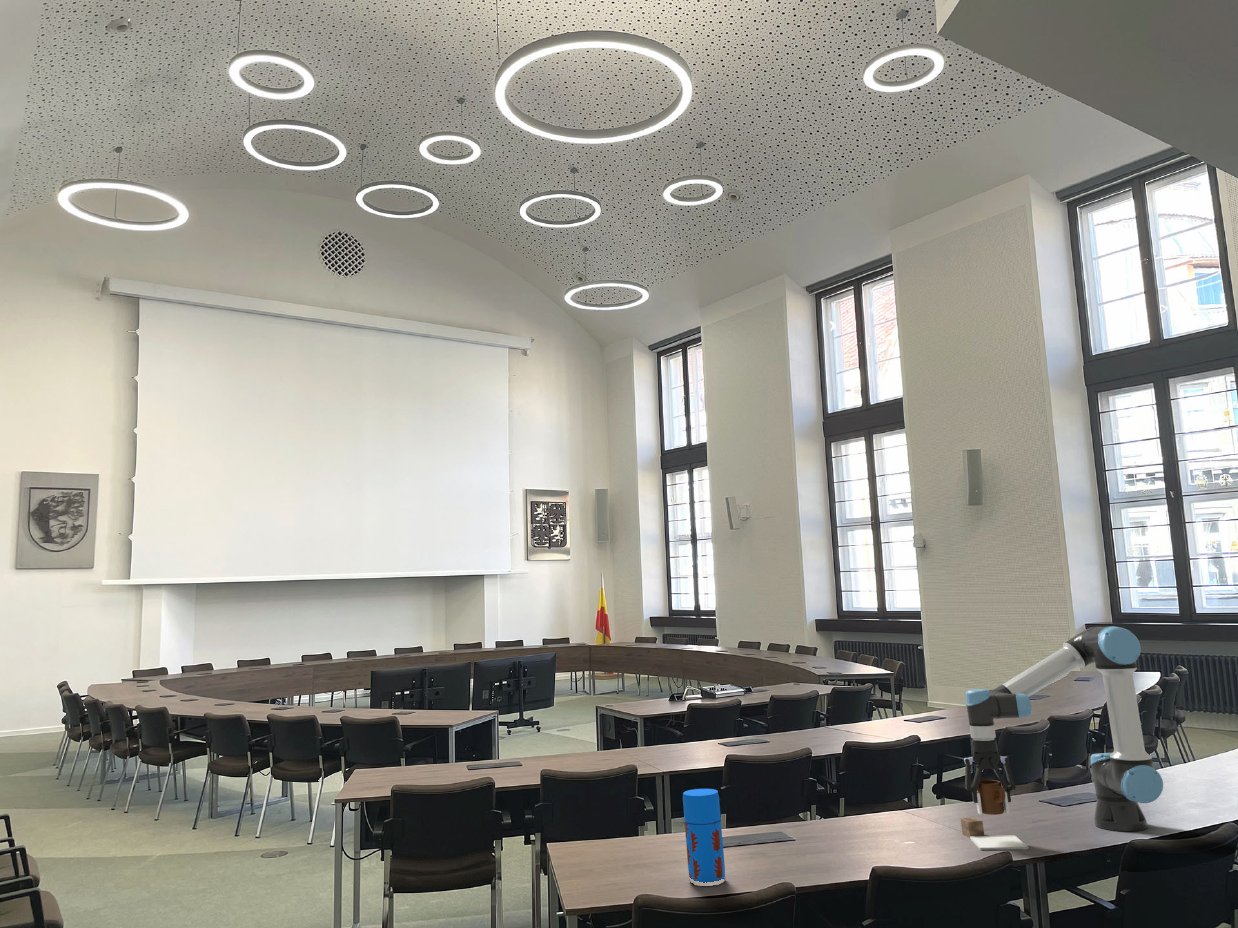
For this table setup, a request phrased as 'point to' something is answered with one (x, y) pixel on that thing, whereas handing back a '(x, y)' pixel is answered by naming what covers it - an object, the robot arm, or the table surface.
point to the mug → (991, 797)
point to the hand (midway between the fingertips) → (993, 813)
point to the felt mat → (998, 842)
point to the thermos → (703, 835)
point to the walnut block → (972, 827)
